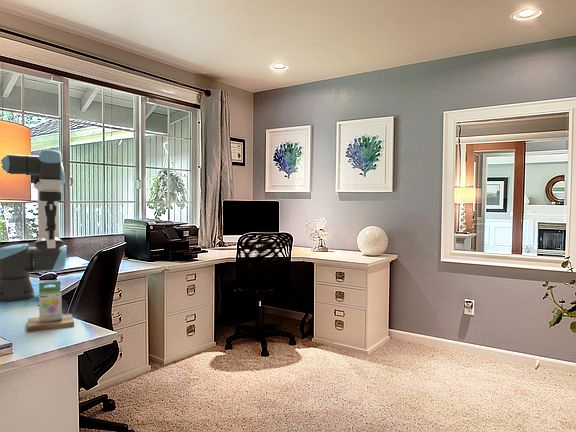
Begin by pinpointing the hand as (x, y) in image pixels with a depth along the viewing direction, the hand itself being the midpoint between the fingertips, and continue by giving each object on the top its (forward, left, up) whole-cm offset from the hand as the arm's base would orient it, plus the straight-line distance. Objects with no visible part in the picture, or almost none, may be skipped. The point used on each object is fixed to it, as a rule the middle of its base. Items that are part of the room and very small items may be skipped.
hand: (50, 245), depth 168 cm
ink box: (+18, -1, -25) cm, 31 cm away
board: (+18, -1, -26) cm, 32 cm away
